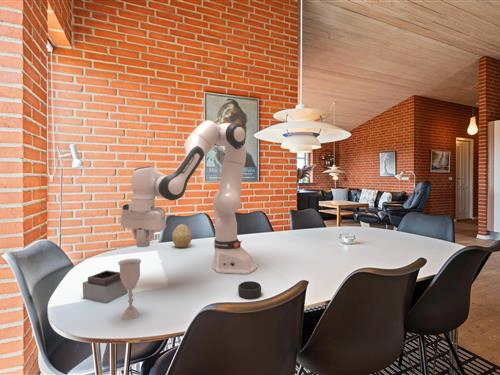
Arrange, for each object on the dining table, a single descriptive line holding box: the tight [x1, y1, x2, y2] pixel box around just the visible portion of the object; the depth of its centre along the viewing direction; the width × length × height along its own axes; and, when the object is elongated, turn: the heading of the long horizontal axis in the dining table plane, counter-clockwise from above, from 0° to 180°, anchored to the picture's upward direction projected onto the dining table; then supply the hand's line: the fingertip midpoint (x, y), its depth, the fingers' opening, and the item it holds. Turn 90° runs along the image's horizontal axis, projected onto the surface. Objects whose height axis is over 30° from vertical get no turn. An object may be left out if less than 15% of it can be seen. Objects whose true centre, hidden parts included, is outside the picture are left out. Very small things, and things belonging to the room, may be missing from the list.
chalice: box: [117, 258, 142, 320], centre depth 93 cm, size 7×7×18 cm
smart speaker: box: [237, 280, 262, 300], centre depth 109 cm, size 9×9×4 cm
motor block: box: [82, 270, 129, 304], centre depth 110 cm, size 16×10×8 cm, turn 69°
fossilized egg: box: [171, 223, 193, 248], centre depth 183 cm, size 13×13×15 cm
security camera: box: [135, 228, 151, 248], centre depth 114 cm, size 5×5×8 cm
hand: (143, 240), depth 114 cm, fingers closed on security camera, 5 cm apart
